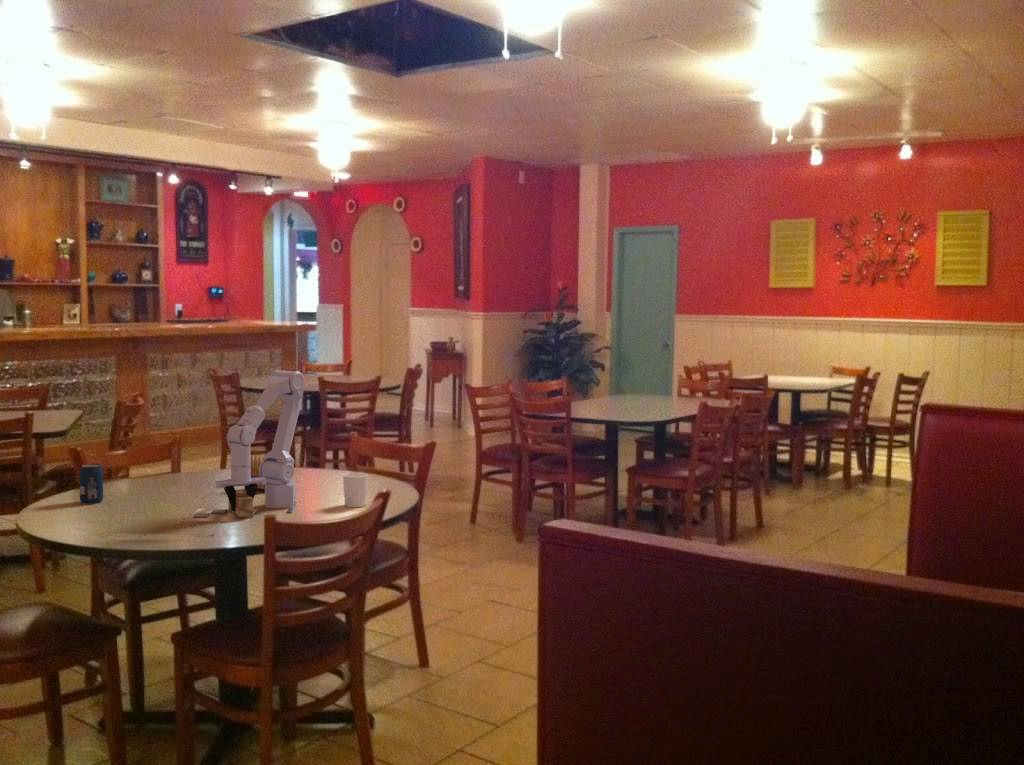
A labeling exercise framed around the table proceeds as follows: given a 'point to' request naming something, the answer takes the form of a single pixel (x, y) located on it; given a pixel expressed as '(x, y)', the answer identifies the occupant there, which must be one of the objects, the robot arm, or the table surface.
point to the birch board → (216, 516)
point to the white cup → (355, 489)
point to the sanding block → (242, 506)
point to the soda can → (91, 483)
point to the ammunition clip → (256, 472)
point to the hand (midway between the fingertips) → (241, 509)
